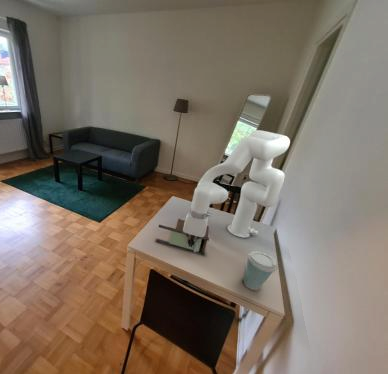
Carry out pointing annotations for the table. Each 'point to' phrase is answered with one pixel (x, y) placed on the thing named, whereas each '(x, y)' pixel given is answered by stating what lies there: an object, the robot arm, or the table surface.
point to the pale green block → (184, 241)
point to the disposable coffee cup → (258, 269)
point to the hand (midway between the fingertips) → (190, 245)
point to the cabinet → (179, 229)
